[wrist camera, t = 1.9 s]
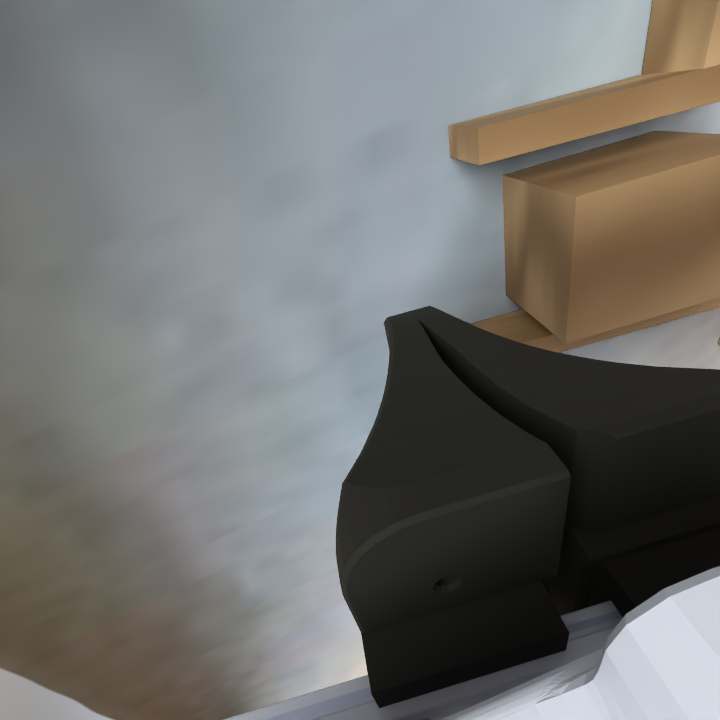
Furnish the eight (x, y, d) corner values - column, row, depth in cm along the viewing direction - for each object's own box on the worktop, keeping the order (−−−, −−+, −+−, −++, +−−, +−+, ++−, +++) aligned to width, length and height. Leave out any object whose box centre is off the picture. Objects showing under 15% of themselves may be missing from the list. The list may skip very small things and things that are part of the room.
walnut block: (632, 256, 18) (727, 295, 14) (504, 293, 18) (565, 343, 14) (652, 130, 15) (777, 138, 11) (501, 174, 15) (576, 196, 11)
